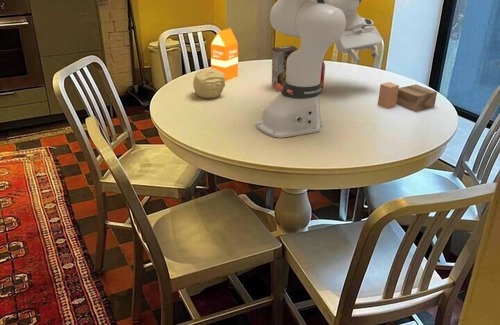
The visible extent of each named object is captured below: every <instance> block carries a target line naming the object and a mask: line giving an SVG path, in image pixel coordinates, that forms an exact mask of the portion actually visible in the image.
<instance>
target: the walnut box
mask: <svg viewBox="0 0 500 325" xmlns="http://www.w3.org/2000/svg"><path fill="white" fill-rule="evenodd" d="M437 94H438V91H436V90H432V89H429V88H428V87H424V86H422V85H419V84H411V85H407V86H403V87H399V89H398V96H397V102H396V106H398V107H399V106H400V107H402V108H404V109H407V110H408V111H410V112H414V113H416V112H420V111H426V110H428V109H432V108H435V105H436V101H437V100H436V99H437Z"/></svg>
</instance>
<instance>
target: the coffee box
mask: <svg viewBox="0 0 500 325" xmlns="http://www.w3.org/2000/svg"><path fill="white" fill-rule="evenodd" d="M298 49H299V48H297V47H296V46H294V45H288V46H279V47H272V50H271V52H272V54H271V58H272V59H271V60H272V61H271V88H272V89H273V90H275V91H276V92H280V91H279V90H277V89H276V88H275V85H276V84H277V83H279V84H281V85H283V84H284V82H285V80H286V67H287V58H288V56H289V55H290V54H291V53H292V52H294V51H296V50H298Z"/></svg>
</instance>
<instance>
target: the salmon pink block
mask: <svg viewBox="0 0 500 325" xmlns="http://www.w3.org/2000/svg"><path fill="white" fill-rule="evenodd" d="M399 88H400V85H399V84H396V83H393V82H390V81H388V82H384V83H380V86H379V93H378V100H377V106H379V107H381V108H384V109H385V110H388V109H391V108H396V107H397V104H396V102H397V96H398V89H399Z"/></svg>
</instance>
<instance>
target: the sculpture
mask: <svg viewBox="0 0 500 325" xmlns="http://www.w3.org/2000/svg"><path fill="white" fill-rule="evenodd" d="M192 85H193V89H194V92H195V93H196V95H197V96H199V97H200V98H203V99H215V98H217V97H219V96H220V95H221V94H222V92H223V91H224V88H225V87H226V82H225V75H224V73H223V72H221V71H218V70H216V69H215V68H213V69H211V68H203V69H200V70H199V71H197V73H196V74H195V76H194V77H193V81H192Z"/></svg>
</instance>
